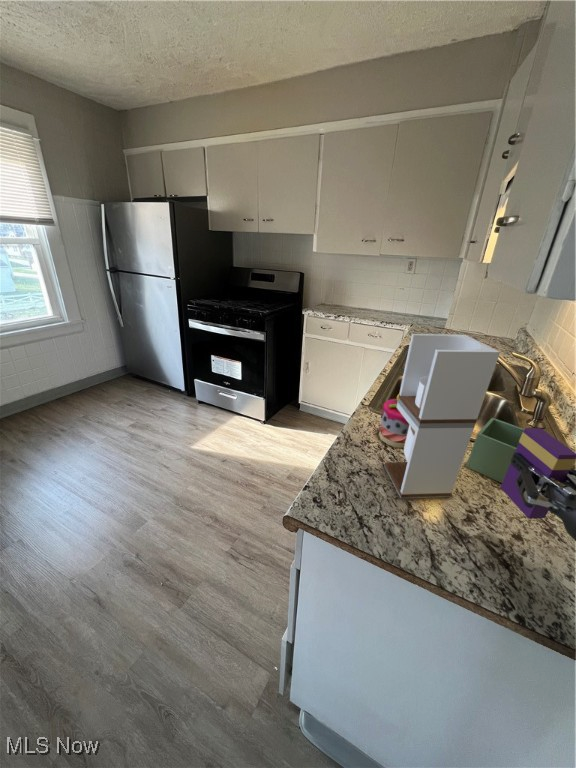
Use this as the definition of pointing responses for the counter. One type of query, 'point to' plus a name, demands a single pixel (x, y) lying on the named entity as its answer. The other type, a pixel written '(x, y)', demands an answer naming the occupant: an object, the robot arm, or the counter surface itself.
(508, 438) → the waste bin
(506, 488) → the chocolate bar
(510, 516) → the counter surface
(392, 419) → the cake
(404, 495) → the display case
